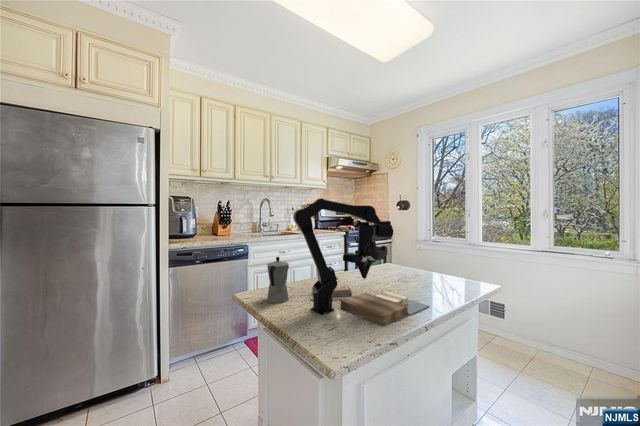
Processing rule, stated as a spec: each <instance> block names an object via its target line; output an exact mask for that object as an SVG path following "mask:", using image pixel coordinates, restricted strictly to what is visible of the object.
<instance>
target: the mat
mask: <svg viewBox="0 0 640 426" xmlns="http://www.w3.org/2000/svg"><path fill="white" fill-rule="evenodd" d="M384 292H385V291H382V292H379V293H378V292H377V293H376V294H372V295H373V296H375V295H378V294H381V293H384ZM404 306H407V307H408V315H407V316H410V317H411V316H413V315H415V314H417V313H421V311H424V310H426V309H428V308H430V305H428V304H425V303H421V302H418V301H415V300H412V299H408V304H407V305H404Z"/></svg>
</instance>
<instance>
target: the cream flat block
mask: <svg viewBox="0 0 640 426" xmlns="http://www.w3.org/2000/svg"><path fill="white" fill-rule="evenodd" d="M383 292H384V293H381V292H380V293H381V294H378V293H377V294H378V295H375V294H374V295H375V296H377V297H380V298H383V299H386V300H389V301H392V302H395V303H398V304H401V305H407V304H408V300H409V298H408V297H407V296H403V295H399V294H396V293H392V292H390V291H389V292H388V291H383Z"/></svg>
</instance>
